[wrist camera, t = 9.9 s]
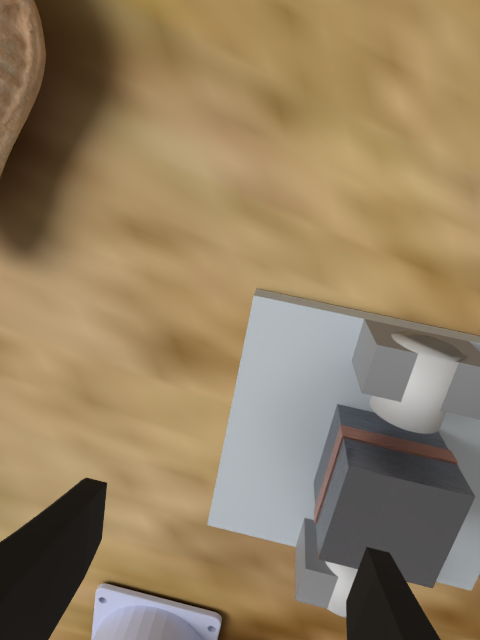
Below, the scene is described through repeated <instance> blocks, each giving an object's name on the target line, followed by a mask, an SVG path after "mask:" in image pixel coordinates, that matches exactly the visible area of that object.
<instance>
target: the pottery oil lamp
mask: <svg viewBox="0 0 480 640" xmlns="http://www.w3.org/2000/svg"><path fill="white" fill-rule="evenodd" d="M45 62H46V50H45V41H44V35H43V29H42V23H41V18H40V15H39V12H38V9H37V7H36V4H35V1H34V0H0V179H1V175H2V171H3V168H4V166H5V163H6V161H7V158H8V156H9V154H10V152H11V150H12V147H13V145H14V143H15V141H16V139H17V138H18V135H19V133H20V131H21V129H22V127H23V126H24V124H25V122H26V120H27V118H28V115H29V113H30V111H31V109H32V107H33V105H34V102H35V100H36V98H37V95H38V93H39V90H40V87H41V84H42V80H43V75H44V69H45Z"/></svg>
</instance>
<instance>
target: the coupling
mask: <svg viewBox="0 0 480 640" xmlns="http://www.w3.org/2000/svg"><path fill="white" fill-rule="evenodd" d="M314 498H315V508H314V523H315V524H316V533H317V550H318V559H319V560H323V561H327V562H331V563H335V564H338V565H342V566H346V567H350V568H354V569H358V568H359V566H360V563H361V560H362V558H363V555H364V552H365V550H366V547H369V548H373V549H377V550H381V551H385V552H389V553H390V554H391V556H392V557H393V559H394V561H395V563H396V564H397V566H398V568H399V570H400V571H401V573H402V575H403V577H404V579H405V580H406V582H410V583H414V584H418V585H422V586H426V587H430V588H433V586H434V584H435V582H436V580H437V578H438V576H439V574H440V571H441V569H442V567H443V565H444V563H445V561H446V559H447V557H448V554H449V552H450V550H451V548H452V546H453V544H454V542H455V539H456V537H457V535H458V533H459V531H460V529H461V527H462V525H463V522H464V520H465V518H466V516H467V514H468V512H469V510H470V507H471V505H472V503H473V501H474V499H475V495H474V493H473V492H472V490H471V488H470V486H469V485H468V483H467V481H466V479H465V478H464V476H463V474H462V472H461V470H460V469H459V467H458V461H457V460H456V458H455V456H454V454H453V453H452V451H451V450H449V449H448V448H447V446H446V444H445V442H444V441H443V439H442V437H441V435H440V433H439V432H438V431H437V432H435V433H430V434H422V433H416V432H411V431H407V430H404V429H402V428H399V427H397V426H394V425H392V424H390V423H389V422H387V421H385V420H384V419H382V418H381V417H380V416H378V415H377V414H376V413H375V412H370V411H366V410H362V409H357V408H353V407H348V406H344V405H340V404H337V406H336V410H335V413H334V416H333V419H332V423H331V426H330V429H329V433H328V436H327V439H326V443H325V446H324V449H323V453H322V456H321V459H320V463H319V466H318V469H317V472H316V476H315V479H314Z"/></svg>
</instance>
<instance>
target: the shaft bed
mask: <svg viewBox="0 0 480 640" xmlns="http://www.w3.org/2000/svg"><path fill="white" fill-rule="evenodd" d="M337 404H340V405H344V406H348V407H353V408H357V409H362V410H366V411H370V412H375V413H376V414H377V415H378V416H380V417H381V418H382V419H384V420H385V421H387V422H389V423H390V424H392V425H394V426H397V427H399V428H402V429H404V430H407V431H411V432H416V433H422V434H430V433H435V432H437V431H438V432H439V433H440V435H441V437H442V439H443V441H444V442H445V444H446V446H447V448H448V449H449V450H451V451H452V453H453V454H454V456H455V458H456V460H457V461H458V467H459V469H460V470H461V472H462V474H463V476H464V478H465V479H466V481H467V483H468V485H469V486H470V488H471V490H472V492H473V493H474V495H475V499H474V501H473V503H472V505H471V507H470V510H469V512H468V514H467V516H466V518H465V520H464V522H463V525H462V527H461V529H460V531H459V533H458V535H457V537H456V539H455V542H454V544H453V546H452V548H451V550H450V552H449V554H448V557H447V559H446V561H445V563H444V565H443V567H442V569H441V571H440V574H439V576H438V578H437V580H436V582H438V583H442V584H446V585H450V586H454V587H458V588H463V589H467V590H472V588H473V586H474V584H475V582H476V580H477V578H478V576H479V574H480V336H477V335H472V334H468V333H463V332H458V331H454V330H449V329H444V328H439V327H435V326H430V325H425V324H421V323H416V322H411V321H406V320H402V319H397V318H392V317H388V316H383V315H378V314H374V313H369V312H364V311H359V310H355V309H350V308H345V307H341V306H336V305H331V304H326V303H322V302H317V301H312V300H308V299H303V298H298V297H293V296H289V295H284V294H279V293H275V292H270V291H265V290H261V289H256V291H255V294H254V298H253V303H252V308H251V312H250V317H249V322H248V327H247V332H246V337H245V342H244V347H243V352H242V357H241V362H240V367H239V372H238V377H237V381H236V386H235V391H234V396H233V401H232V406H231V411H230V416H229V421H228V426H227V431H226V436H225V441H224V446H223V450H222V455H221V460H220V465H219V470H218V475H217V480H216V485H215V490H214V495H213V500H212V505H211V510H210V514H209V519H208V524H207V525H210V526H214V527H218V528H222V529H226V530H230V531H234V532H238V533H242V534H246V535H250V536H254V537H258V538H262V539H266V540H270V541H274V542H278V543H282V544H286V545H290V546H294V547H296V571H295V600H296V601H300V602H304V603H308V604H311V605H315V606H319V607H323V608H327V609H328V610H330V611H331V612H333V613H335V614H337V615H339V616H342V617H346V600H347V597H348V595H349V592H350V589H351V587H352V584H353V581H354V579H355V576H356V573H357V571H358V569H354V568H350V567H346V566H342V565H338V564H335V563H331V562H327V561H323V560H319V559H318V550H317V533H316V524H315V523H314V508H315V498H314V479H315V476H316V472H317V469H318V466H319V463H320V459H321V456H322V453H323V449H324V446H325V443H326V439H327V436H328V433H329V429H330V426H331V423H332V419H333V416H334V413H335V410H336V406H337Z"/></svg>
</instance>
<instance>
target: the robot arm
mask: <svg viewBox="0 0 480 640" xmlns="http://www.w3.org/2000/svg"><path fill="white" fill-rule="evenodd" d="M106 489H107V483H105V482H101V481H97V480H93V479H89V478H85V479H83V480H81V481H80V482H79V483H78V484H77V485H75V486H74V487H73V488H72V489H70V490H69V491H68V492H67V493H65V494H64V495H63V496H62V497H60V498H59V499H58V500H57V501H55V502H54V503H53V504H51V505H50V506H49V507H48V508H46V509H45V510H44V511H42V512H41V513H40V514H38V515H37V516H36V517H34V518H33V519H32V520H30V521H29V522H28V523H26V524H25V525H24V526H22V527H21V528H20V529H18V530H17V531H16V532H14V533H13V534H11V535H10V536H8V537H7V538H6V539H4V540H3V541H1V542H0V640H48V639H49V638H50V636H51V634H52V632H53V631H54V629H55V627H56V626H57V624H58V622H59V620H60V619H61V617H62V615H63V614H64V612H65V610H66V608H67V607H68V605H69V603H70V602H71V600H72V598H73V596H74V595H75V593H76V591H77V589H78V588H79V586H80V584H81V582H82V581H83V579H84V577H85V575H86V573H87V571H88V568H89V566H90V564H91V562H92V560H93V558H94V555H95V553H96V551H97V549H98V546H99V544H100V542H101V540H102V531H103V520H104V510H105V499H106ZM346 620H347V640H440V638H439V636H438V635H437V633H436V631H435V630H434V628H433V627H432V625H431V623H430V622H429V620H428V618H427V617H426V615H425V613H424V612H423V610H422V608H421V606H420V605H419V603H418V601H417V600H416V598H415V596H414V594H413V593H412V591H411V589H410V587H409V586H408V584H407V582H406V580H405V579H404V577H403V575H402V573H401V571H400V570H399V568H398V566H397V564H396V563H395V561H394V559H393V557H392V556H391V554H390V553H389V552H385V551H381V550H377V549H373V548H369V547H366V550H365V552H364V555H363V558H362V560H361V563H360V566H359V568H358V571H357V573H356V576H355V579H354V581H353V584H352V587H351V589H350V592H349V595H348V597H347V600H346ZM221 622H222V617H221V616H220V615H219V614H218V613H216V612H213V611H209V610H205V609H202V608H198V607H194V606H190V605H186V604H183V603H179V602H175V601H171V600H167V599H163V598H160V597H156V596H152V595H148V594H144V593H140V592H137V591H133V590H129V589H125V588H121V587H118V586H114V585H110V584H106V583H103V584H100V585H99V586H98V588H97V590H96V596H95V606H94V617H93V627H92V638H91V640H217V639H218V635H219V631H220V627H221Z"/></svg>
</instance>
